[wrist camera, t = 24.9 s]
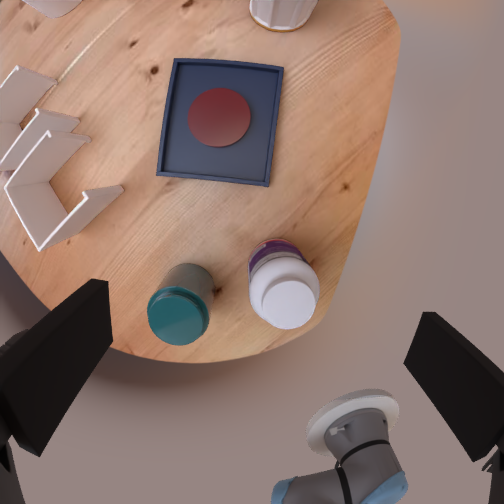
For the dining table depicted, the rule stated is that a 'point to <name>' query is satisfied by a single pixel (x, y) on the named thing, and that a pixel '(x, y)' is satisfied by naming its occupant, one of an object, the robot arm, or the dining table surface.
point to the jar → (182, 305)
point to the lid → (219, 117)
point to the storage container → (42, 161)
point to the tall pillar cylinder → (53, 6)
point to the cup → (281, 13)
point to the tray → (229, 158)
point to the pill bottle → (282, 284)
